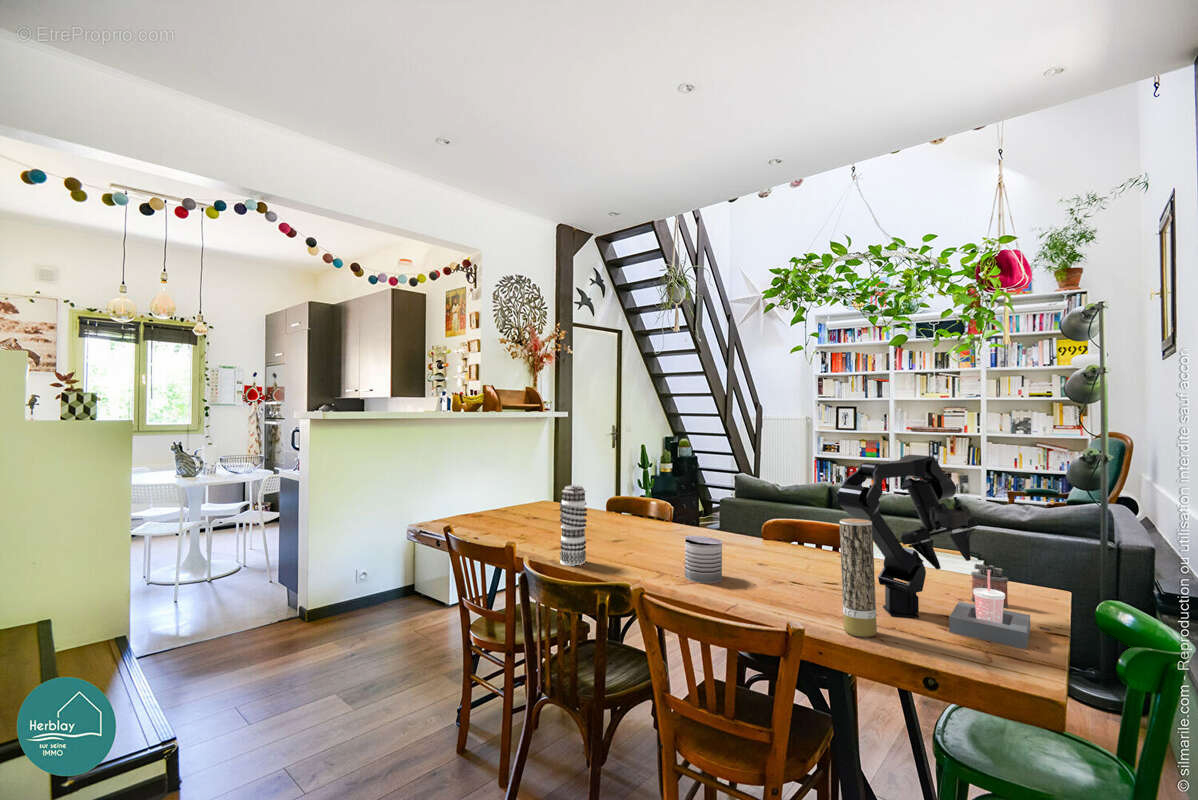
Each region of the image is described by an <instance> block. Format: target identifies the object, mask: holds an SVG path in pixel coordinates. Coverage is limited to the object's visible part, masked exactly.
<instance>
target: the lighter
mask: <svg viewBox="0 0 1198 800" xmlns="http://www.w3.org/2000/svg"><path fill="white" fill-rule="evenodd" d="M973 566H974V570H979V571H971V574H970V575H971V576H972V577H971V581H972V582H971V591H972V595H971V601H972V603H973V602H974V603H975V595H974V594H973V589H974V588H987V589H988V570H990V589H993V590H997V591H1001V592H1003V593H1005V599H1004V604H1003V609H1009V603H1008V601H1009V600H1008V582H1009V578H1008V577H1006V576H1003V569H1002V568H999V567H995V566H994V565H990V564H989V566H987V565H986V564H980V563H975V564H974V565H973ZM985 571H986V572H985Z"/></svg>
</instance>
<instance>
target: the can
mask: <svg viewBox="0 0 1198 800" xmlns="http://www.w3.org/2000/svg"><path fill="white" fill-rule="evenodd" d="M683 537H684V538H685V541H684V579H686V578H687V579H686V580H687V581H689V580H690V582H692V581H694V582H693V583H697V582H699V583H698V584H716V583H719V582H720V583H721V582H722V580H723V543H724V542H723V540H721V539H717V538H715V537H714V538H713V537H709V536H704V535H703V536H702V535H684V536H683Z"/></svg>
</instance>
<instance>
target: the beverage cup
mask: <svg viewBox="0 0 1198 800" xmlns="http://www.w3.org/2000/svg"><path fill="white" fill-rule="evenodd" d="M973 594H974V595H975V602H974V605H975V608H976V618H977V619H982V620H987V621H992V622H996V623H1001V624H1002V619H1003V610H1004V608H1003V604H1004V599H1005V593H1003V592H1001V591H997V590H993V589H990V570H988V589H987V588H974V589H973Z"/></svg>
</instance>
